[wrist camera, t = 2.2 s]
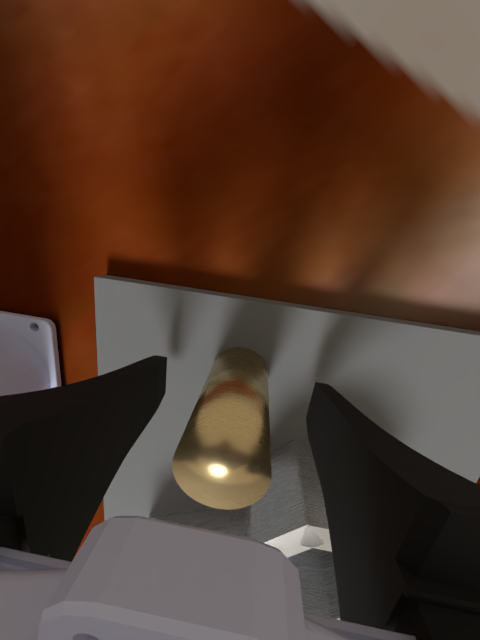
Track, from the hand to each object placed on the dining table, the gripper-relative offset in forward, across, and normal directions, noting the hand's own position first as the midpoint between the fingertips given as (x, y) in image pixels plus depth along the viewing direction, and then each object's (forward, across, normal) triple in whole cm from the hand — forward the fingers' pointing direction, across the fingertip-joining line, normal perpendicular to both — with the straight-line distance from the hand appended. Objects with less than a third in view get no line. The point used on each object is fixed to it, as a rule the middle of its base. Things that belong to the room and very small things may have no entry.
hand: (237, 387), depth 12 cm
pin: (+1, 0, 0) cm, 1 cm away
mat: (+2, -3, +7) cm, 8 cm away
